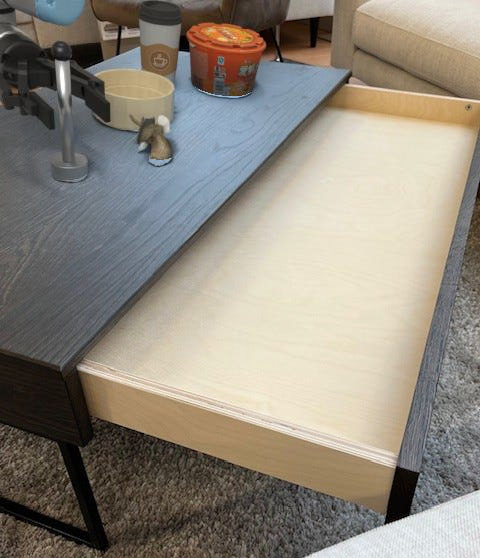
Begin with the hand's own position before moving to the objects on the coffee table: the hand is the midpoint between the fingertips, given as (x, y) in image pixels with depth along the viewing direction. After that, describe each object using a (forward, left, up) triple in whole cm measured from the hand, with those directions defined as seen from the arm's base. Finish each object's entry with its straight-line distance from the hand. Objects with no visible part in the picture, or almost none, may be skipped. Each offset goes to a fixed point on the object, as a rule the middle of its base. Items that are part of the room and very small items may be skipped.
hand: (80, 116), depth 83 cm
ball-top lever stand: (-3, +3, -11) cm, 12 cm away
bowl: (-1, +28, -11) cm, 31 cm away
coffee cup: (-1, +45, -11) cm, 47 cm away
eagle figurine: (+6, +15, -11) cm, 20 cm away
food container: (+11, +51, -11) cm, 54 cm away
